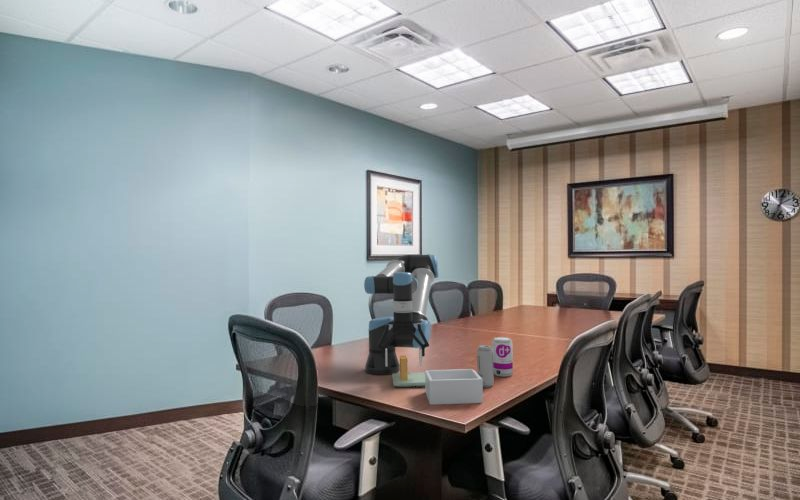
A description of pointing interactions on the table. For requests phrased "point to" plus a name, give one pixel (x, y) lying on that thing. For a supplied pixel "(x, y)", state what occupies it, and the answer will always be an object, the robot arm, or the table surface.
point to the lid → (407, 376)
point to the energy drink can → (485, 365)
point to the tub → (453, 386)
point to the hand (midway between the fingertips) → (403, 365)
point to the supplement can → (502, 356)
